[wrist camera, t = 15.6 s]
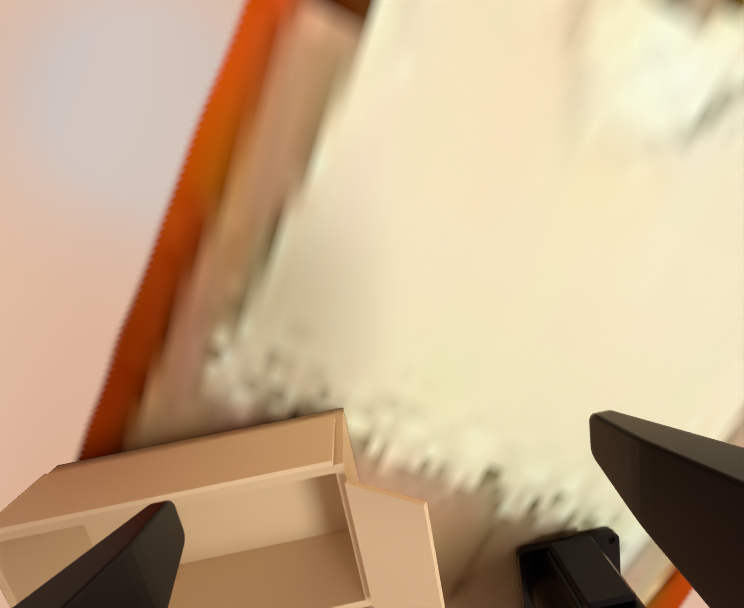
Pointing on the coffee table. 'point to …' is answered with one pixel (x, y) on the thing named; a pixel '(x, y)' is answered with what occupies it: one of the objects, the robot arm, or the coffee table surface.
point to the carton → (209, 516)
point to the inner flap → (395, 547)
